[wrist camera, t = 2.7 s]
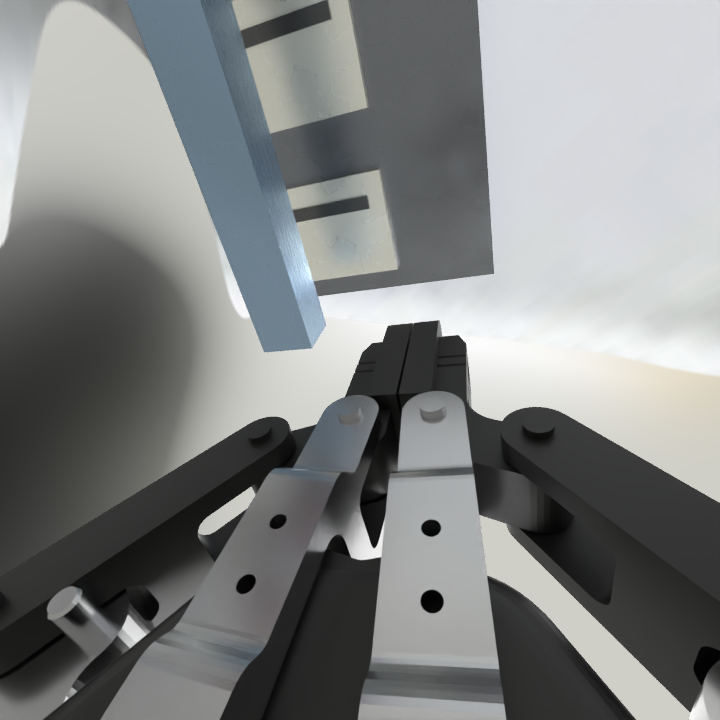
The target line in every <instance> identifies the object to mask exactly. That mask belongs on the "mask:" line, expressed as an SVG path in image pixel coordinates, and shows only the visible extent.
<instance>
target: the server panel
mask: <svg viewBox="0 0 720 720" xmlns="http://www.w3.org/2000/svg"><path fill="white" fill-rule="evenodd" d="M231 1H232V5H233V8H234V12H235V15H236V19H237V22H238V25H239V29H240V32H241V36H242V39H243V42H244V46H245V49H246V53H247V56H248V60H249V63H250V66H251V70H252V73H253V77H254V80H255V84H256V87H257V90H258V94H259V97H260V101H261V104H262V107H263V111H264V114H265V118H266V121H267V125H268V128H269V131H270V135H271V138H272V142H273V145H274V148H275V152H276V155H277V159H278V162H279V166H280V169H281V172H282V176H283V179H284V183H285V186H286V189H287V193H288V196H289V200H290V203H291V207H292V210H293V213H294V217H295V220H296V224H297V227H298V231H299V234H300V237H301V241H302V244H303V248H304V251H305V254H306V258H307V261H308V265H309V268H310V272H311V275H312V278H313V282H314V285H315V289H316V292H317V295H318V296H323V295H331V294H339V293H347V292H354V291H362V290H370V289H378V288H386V287H393V286H401V285H409V284H417V283H425V282H432V281H440V280H448V279H456V278H464V277H471V276H479V275H487V274H494V267H493V251H492V234H491V218H490V202H489V185H488V169H487V152H486V136H485V119H484V103H483V87H482V70H481V54H480V37H479V21H478V4H477V0H231Z"/></svg>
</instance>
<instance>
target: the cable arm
mask: <svg viewBox="0 0 720 720" xmlns="http://www.w3.org/2000/svg"><path fill="white" fill-rule="evenodd" d="M127 2H128V5H129V7H130V10H131V12H132V15H133V17H134V20H135V23H136V25H137V28H138V30H139V33H140V35H141V38H142V40H143V43H144V46H145V48H146V51H147V53H148V56H149V58H150V61H151V63H152V66H153V69H154V71H155V74H156V76H157V79H158V81H159V84H160V87H161V89H162V92H163V94H164V97H165V99H166V102H167V104H168V107H169V110H170V112H171V114H172V117H173V120H174V122H175V125H176V127H177V130H178V132H179V135H180V138H181V140H182V143H183V145H184V148H185V150H186V153H187V156H188V158H189V161H190V163H191V166H192V168H193V171H194V174H195V176H196V179H197V181H198V184H199V186H200V189H201V191H202V194H203V197H204V199H205V202H206V204H207V207H208V209H209V212H210V214H211V217H212V220H213V222H214V225H215V227H216V230H217V232H218V235H219V238H220V240H221V243H222V245H223V248H224V250H225V253H226V255H227V258H228V261H229V263H230V266H231V268H232V271H233V273H234V276H235V278H236V281H237V284H238V286H239V289H240V291H241V294H242V296H243V299H244V302H245V304H246V307H247V309H248V312H249V314H250V317H251V319H252V322H253V325H254V327H255V329H256V332H257V335H258V337H259V340H260V342H261V345H262V348H263V350H264V352H273V351H285V350H297V349H307V348H312V347H313V346H314V343H315V342H316V340H317V339H318V337H319V336H320V334H321V333H322V331H323V329H324V328H325V326H326V323H325V319H324V316H323V313H322V309H321V306H320V302H319V299H318V295H317V292H316V289H315V285H314V282H313V278H312V275H311V272H310V268H309V265H308V261H307V258H306V254H305V251H304V248H303V244H302V241H301V237H300V234H299V231H298V227H297V224H296V220H295V217H294V213H293V210H292V207H291V203H290V200H289V196H288V193H287V189H286V186H285V183H284V179H283V176H282V172H281V169H280V166H279V162H278V159H277V155H276V152H275V148H274V145H273V142H272V138H271V135H270V131H269V128H268V125H267V121H266V118H265V114H264V111H263V107H262V104H261V101H260V97H259V94H258V90H257V87H256V84H255V80H254V77H253V73H252V70H251V66H250V63H249V60H248V56H247V53H246V49H245V46H244V42H243V39H242V36H241V32H240V29H239V25H238V22H237V19H236V15H235V12H234V8H233V5H232V1H231V0H127Z"/></svg>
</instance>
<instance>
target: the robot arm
mask: <svg viewBox="0 0 720 720" xmlns="http://www.w3.org/2000/svg"><path fill="white" fill-rule="evenodd" d="M251 486H252V488H253V490H254V492H255V494H256V495H255V497H254V499H253V501H252V502H251V504H250V505H249V507H248V509H246V510H245V511H243V512H242V513H241V514H239V515H238V516H236V517H235V518H234V519H232V520H231V521H230V522H228V523H227V524H225V525H224V526H223V527H221V528H220V529H218V530H217V531H216V532H214V533H212V534H210V535H201V534H199V533H198V529H199V526H200V524H201V523H202V522H203V520H204V519H205V518H206V517H208V516H209V515H210V514H212V513H213V512H215V511H216V510H218V509H219V508H221V507H222V506H223V505H225V504H226V503H228V502H229V501H231V500H232V499H233V498H235V497H236V496H238V495H239V494H241V493H242V492H244V491H245V490H247V489H248V488H249V487H251ZM479 515H482V516H485V517H488V518H491V519H494V520H497V521H500V522H503V523H506V524H507V527H508V530H509V532H510V533H511V535H512V536H513V537H514V538H515V539H516V540H517V541H518V542H519V543H520V544H521V545H522V546H523V547H524V548H525V549H526V550H527V551H528V552H529V553H530V554H531V555H532V556H533V557H534V558H535V559H536V560H537V561H538V562H539V563H540V564H541V565H542V566H543V567H544V568H545V569H546V570H547V571H548V572H549V573H550V574H551V575H552V576H553V577H554V578H555V579H556V580H557V581H558V582H559V583H560V584H561V585H562V586H563V587H564V588H565V589H566V590H567V591H568V592H569V593H570V594H571V595H572V596H573V597H574V598H575V599H576V600H577V601H578V602H579V603H580V604H581V605H582V606H583V607H584V608H585V609H586V610H587V611H588V612H589V613H591V615H592V616H593V617H595V618H596V620H597V621H598V622H599V623H600V624H602V626H604V627H605V628H606V629H607V630H608V631H609V632H610V633H611V634H612V635H613V636H614V637H615V638H616V639H617V640H618V641H619V642H620V643H621V644H622V645H623V646H624V647H625V648H626V649H627V650H628V651H629V652H630V653H631V654H632V655H633V656H634V657H635V658H636V659H637V660H638V661H639V662H640V663H641V664H642V665H643V666H644V667H645V668H646V669H647V670H648V671H649V672H650V673H651V674H652V675H653V676H654V677H655V678H656V679H657V680H658V681H659V682H660V683H661V684H662V685H663V686H664V687H665V688H666V689H667V690H668V691H669V692H670V693H671V694H672V695H673V696H674V697H675V698H676V699H677V700H678V701H679V702H680V703H681V704H682V705H683V706H684V707H685V708H686V709H687V710H688V711H689V712H690V715H689V720H720V503H719V502H717V501H715V500H713V499H711V498H710V497H708V496H706V495H705V494H703V493H701V492H699V491H698V490H696V489H694V488H692V487H690V486H689V485H687V484H685V483H684V482H682V481H680V480H678V479H677V478H675V477H673V476H671V475H670V474H668V473H666V472H664V471H663V470H661V469H659V468H658V467H656V466H654V465H652V464H651V463H649V462H647V461H645V460H644V459H642V458H640V457H638V456H637V455H635V454H633V453H631V452H630V451H628V450H626V449H624V448H623V447H621V446H619V445H617V444H616V443H614V442H612V441H610V440H608V439H607V438H605V437H603V436H602V435H600V434H598V433H596V432H595V431H593V430H591V429H590V428H588V427H586V426H584V425H583V424H581V423H579V422H577V421H576V420H574V419H572V418H570V417H569V416H567V415H565V414H563V413H561V412H559V411H556V410H553V409H549V408H542V407H529V408H523V409H520V410H516V411H514V412H512V413H510V414H509V415H507V416H506V417H505V418H504V420H503V421H498V420H493V419H489V418H486V417H483V416H481V415H479V414H478V413H476V412H475V411H474V410H473V409H472V408H471V387H470V377H469V367H468V358H467V348H466V343H465V342H464V341H463V340H462V339H461V338H460V336H459V335H456V336H445V337H442V332H441V325H440V321H439V320H438V321H429V322H419V323H414V324H413V323H410V324H400V325H391V326H388V328H387V330H386V334H385V336H384V339H383V342H380V343H372V344H371V345H370V346H369V347H368V348H367V349H366V350H365V351H364V352H363V353H362V355H361V358H360V360H359V365H357V368H356V370H355V373H354V375H353V378H352V380H351V383H350V386H349V388H348V391H347V394H346V396H345V397H344V398H341V399H339V400H337V401H335V402H333V403H332V404H331V405H330V406H328V407H327V408H326V409H325V411H324V412H323V414H322V416H321V418H320V420H319V421H318V423H317V424H316V425H313V426H309V427H306V428H302V429H298V430H294V431H291V429H290V426H289V424H288V422H287V421H286V420H285V419H283V418H280V417H266V418H262V419H259V420H257V421H254V422H252V423H250V424H248V425H247V426H245V427H243V428H242V429H240V430H239V431H237V432H235V433H234V434H232V435H230V436H229V437H227V438H226V439H224V440H222V441H221V442H219V443H217V444H216V445H214V446H212V447H211V448H209V449H208V450H206V451H204V452H203V453H201V454H199V455H198V456H196V457H194V458H193V459H191V460H190V461H188V462H186V463H185V464H183V465H181V466H180V467H178V468H177V469H175V470H173V471H172V472H170V473H168V474H167V475H165V476H164V477H162V478H160V479H159V480H157V481H155V482H154V483H152V484H150V485H149V486H147V487H146V488H144V489H142V490H141V491H139V492H137V493H136V494H134V495H133V496H131V497H129V498H128V499H126V500H124V501H123V502H121V503H120V504H118V505H116V506H114V507H113V508H111V509H110V510H108V511H106V512H105V513H103V514H101V515H100V516H98V517H97V518H95V519H93V520H92V521H90V522H88V523H87V524H85V525H83V526H82V527H80V528H79V529H77V530H75V531H74V532H72V533H71V534H69V535H67V536H66V537H64V538H62V539H61V540H59V541H57V542H56V543H54V544H52V545H51V546H49V547H48V548H46V549H44V550H43V551H41V552H39V553H38V554H36V555H35V556H33V557H31V558H30V559H28V560H26V561H25V562H23V563H21V564H20V565H18V566H17V567H15V568H13V569H12V570H10V571H8V572H7V573H5V574H3V575H2V576H0V720H636V719H635V718H634V717H633V716H632V714H631V713H630V712H629V711H628V710H627V709H626V707H625V706H624V705H623V704H622V703H621V702H620V700H619V699H618V698H617V697H616V696H615V695H614V693H613V692H612V691H611V690H610V689H609V688H608V686H607V685H606V684H605V683H604V682H603V681H602V679H601V678H600V677H599V676H598V675H597V674H596V672H595V671H594V670H593V669H592V668H591V666H590V665H589V664H588V663H587V662H586V661H585V659H584V658H583V657H582V656H581V655H580V654H579V652H578V651H577V650H576V649H575V648H574V647H573V646H572V645H571V643H570V642H569V641H568V640H567V639H566V638H565V636H564V635H563V634H562V633H561V631H560V630H559V629H558V628H557V627H556V625H555V624H554V623H553V622H552V621H551V620H550V619H549V618H548V617H547V615H546V614H545V613H543V612H542V611H541V610H540V609H539V608H538V607H537V606H536V605H535V604H534V603H533V602H532V601H530V600H529V599H528V598H526V597H525V596H524V595H522V594H521V593H520V592H518V591H517V590H515V589H513V588H512V587H510V586H508V585H507V584H505V583H503V582H500V581H498V580H496V579H494V578H492V577H489V576H487V571H486V564H485V556H484V548H483V541H482V533H481V526H480V518H479Z"/></svg>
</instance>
